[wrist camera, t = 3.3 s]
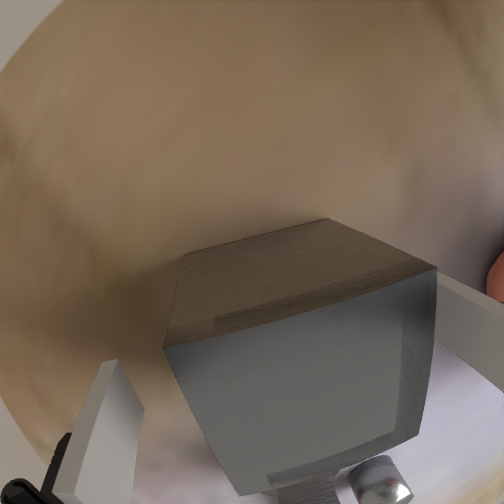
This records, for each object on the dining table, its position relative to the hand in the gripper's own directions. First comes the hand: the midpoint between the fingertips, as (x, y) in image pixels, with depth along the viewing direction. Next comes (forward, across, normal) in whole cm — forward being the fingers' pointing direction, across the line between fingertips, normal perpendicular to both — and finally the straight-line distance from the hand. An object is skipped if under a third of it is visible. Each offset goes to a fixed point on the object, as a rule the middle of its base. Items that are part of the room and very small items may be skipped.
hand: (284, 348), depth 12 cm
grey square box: (+4, 0, 0) cm, 4 cm away
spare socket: (+4, +6, -20) cm, 21 cm away
